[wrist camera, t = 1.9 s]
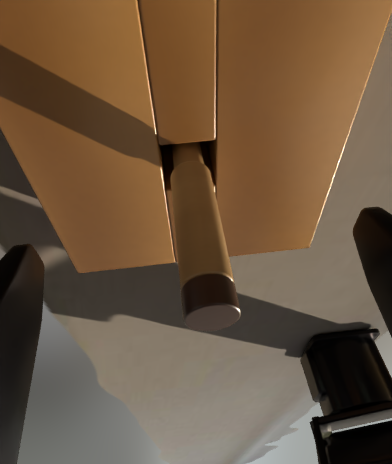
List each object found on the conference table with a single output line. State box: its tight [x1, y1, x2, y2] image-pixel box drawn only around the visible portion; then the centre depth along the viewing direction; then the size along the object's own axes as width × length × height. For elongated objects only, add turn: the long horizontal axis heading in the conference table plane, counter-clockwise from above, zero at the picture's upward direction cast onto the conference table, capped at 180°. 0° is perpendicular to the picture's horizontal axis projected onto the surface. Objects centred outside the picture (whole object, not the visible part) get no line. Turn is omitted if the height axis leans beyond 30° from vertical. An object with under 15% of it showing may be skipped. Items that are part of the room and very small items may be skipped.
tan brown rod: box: [171, 142, 241, 331], centre depth 10 cm, size 1×1×9 cm
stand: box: [0, 0, 392, 273], centre depth 12 cm, size 10×10×4 cm
